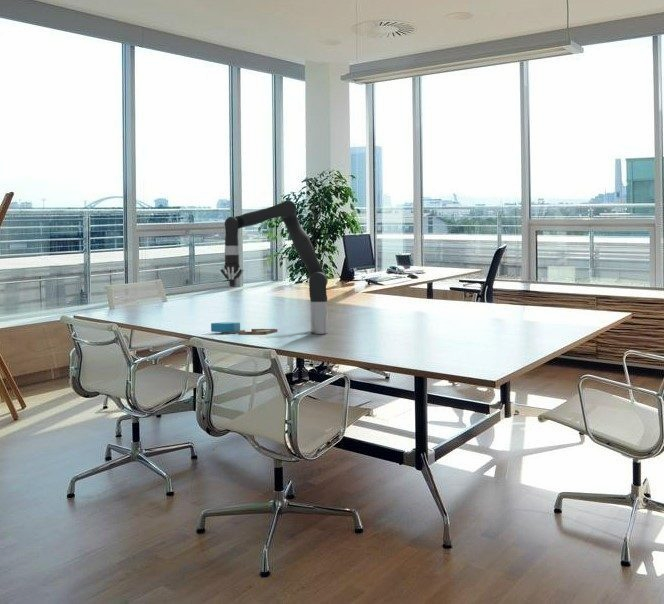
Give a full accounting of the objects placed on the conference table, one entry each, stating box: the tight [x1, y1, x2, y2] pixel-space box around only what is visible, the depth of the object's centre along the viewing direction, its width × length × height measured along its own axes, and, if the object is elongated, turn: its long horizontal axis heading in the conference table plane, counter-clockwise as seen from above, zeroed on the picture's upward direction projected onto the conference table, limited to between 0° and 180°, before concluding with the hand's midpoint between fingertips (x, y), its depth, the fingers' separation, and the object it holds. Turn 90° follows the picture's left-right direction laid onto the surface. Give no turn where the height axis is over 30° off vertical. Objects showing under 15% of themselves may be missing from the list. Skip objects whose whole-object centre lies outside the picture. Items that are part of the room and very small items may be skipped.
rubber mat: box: [220, 329, 246, 335], centre depth 396 cm, size 8×14×1 cm, turn 165°
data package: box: [210, 321, 241, 333], centre depth 395 cm, size 12×4×12 cm
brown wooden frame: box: [238, 328, 278, 336], centre depth 392 cm, size 15×20×2 cm
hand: (232, 286), depth 395 cm, fingers closed
